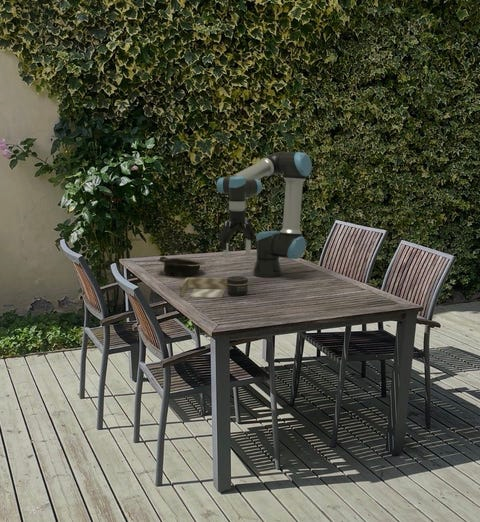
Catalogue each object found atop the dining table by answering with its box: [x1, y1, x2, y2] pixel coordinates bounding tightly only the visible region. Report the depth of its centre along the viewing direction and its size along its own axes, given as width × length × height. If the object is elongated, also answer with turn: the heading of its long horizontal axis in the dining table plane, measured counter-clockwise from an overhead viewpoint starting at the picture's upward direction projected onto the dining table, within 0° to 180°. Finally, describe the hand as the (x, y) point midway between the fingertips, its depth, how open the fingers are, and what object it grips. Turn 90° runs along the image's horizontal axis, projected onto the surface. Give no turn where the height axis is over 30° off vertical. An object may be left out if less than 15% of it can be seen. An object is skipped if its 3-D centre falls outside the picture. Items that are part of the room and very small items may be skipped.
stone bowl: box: [158, 256, 206, 278], centre depth 394 cm, size 25×25×9 cm
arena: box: [179, 277, 228, 299], centre depth 353 cm, size 23×20×5 cm
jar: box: [226, 275, 249, 297], centre depth 351 cm, size 10×10×8 cm
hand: (237, 255), depth 348 cm, fingers open, 13 cm apart
